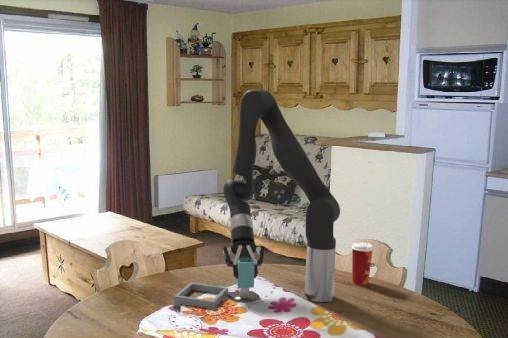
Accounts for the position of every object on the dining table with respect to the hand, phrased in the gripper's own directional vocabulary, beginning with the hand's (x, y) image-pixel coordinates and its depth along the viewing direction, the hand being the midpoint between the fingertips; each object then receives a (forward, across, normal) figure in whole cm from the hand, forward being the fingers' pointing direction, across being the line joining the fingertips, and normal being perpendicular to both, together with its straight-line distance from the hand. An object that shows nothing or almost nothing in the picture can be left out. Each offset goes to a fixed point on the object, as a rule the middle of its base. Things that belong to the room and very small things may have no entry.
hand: (246, 277), depth 158 cm
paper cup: (-5, +44, +18) cm, 48 cm away
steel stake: (+5, 0, +7) cm, 9 cm away
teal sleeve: (+1, 0, +4) cm, 4 cm away
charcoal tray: (+5, -14, +7) cm, 16 cm away
